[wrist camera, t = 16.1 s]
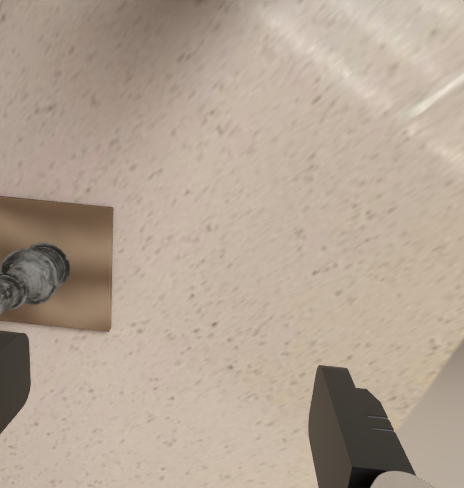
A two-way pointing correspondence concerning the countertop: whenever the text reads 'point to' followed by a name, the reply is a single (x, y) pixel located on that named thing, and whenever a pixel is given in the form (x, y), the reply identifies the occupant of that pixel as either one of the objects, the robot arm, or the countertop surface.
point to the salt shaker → (32, 275)
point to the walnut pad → (78, 254)
